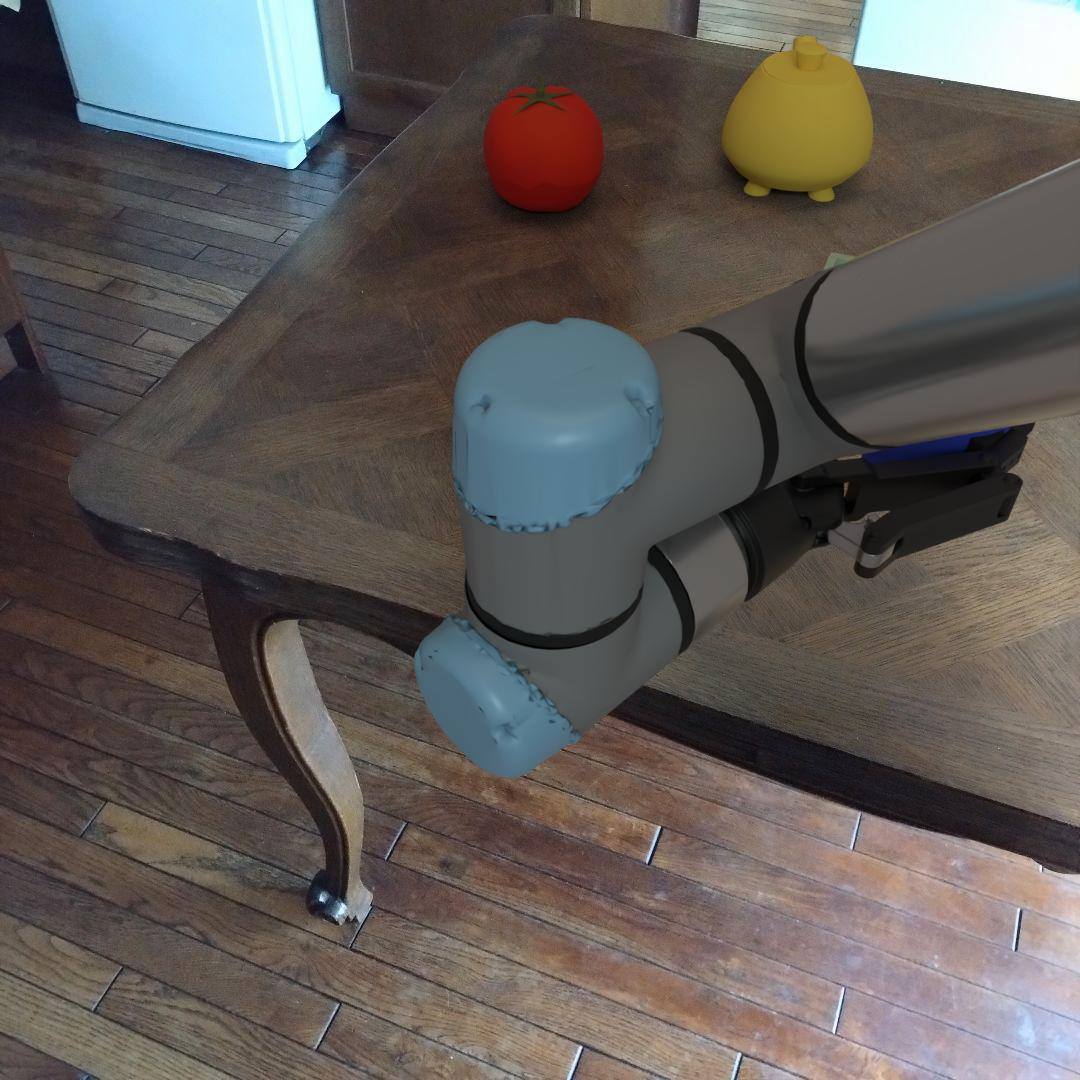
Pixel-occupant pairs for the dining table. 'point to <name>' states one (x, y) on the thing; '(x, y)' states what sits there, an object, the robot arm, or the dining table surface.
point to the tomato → (543, 148)
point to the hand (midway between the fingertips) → (943, 364)
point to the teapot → (799, 123)
